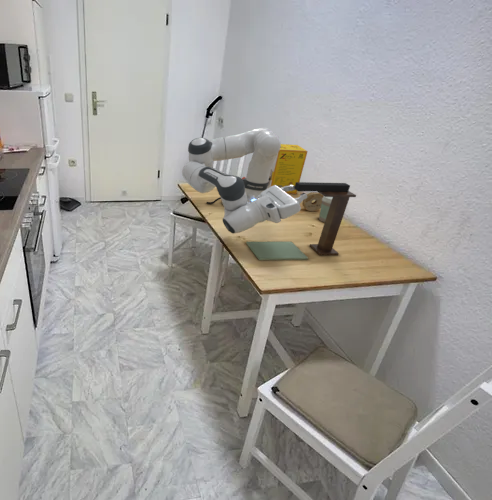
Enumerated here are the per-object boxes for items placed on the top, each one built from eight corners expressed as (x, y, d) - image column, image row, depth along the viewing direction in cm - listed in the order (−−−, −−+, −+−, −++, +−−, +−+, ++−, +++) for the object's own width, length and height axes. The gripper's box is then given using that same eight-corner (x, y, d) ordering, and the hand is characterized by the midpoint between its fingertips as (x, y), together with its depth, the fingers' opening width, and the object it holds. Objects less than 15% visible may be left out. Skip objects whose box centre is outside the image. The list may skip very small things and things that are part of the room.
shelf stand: (306, 256, 143) (325, 194, 131) (294, 245, 152) (311, 185, 140) (339, 256, 145) (361, 195, 133) (325, 245, 154) (345, 186, 142)
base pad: (259, 260, 139) (259, 258, 139) (246, 243, 151) (246, 241, 151) (307, 259, 142) (308, 257, 141) (290, 243, 154) (291, 241, 153)
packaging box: (261, 183, 227) (270, 143, 215) (287, 185, 227) (297, 144, 215) (268, 192, 213) (278, 149, 201) (296, 193, 212) (307, 151, 201)
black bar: (298, 191, 133) (299, 184, 132) (294, 188, 136) (295, 182, 135) (348, 191, 135) (350, 185, 134) (343, 189, 138) (345, 182, 137)
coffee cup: (336, 224, 174) (344, 201, 168) (318, 222, 175) (325, 199, 170) (332, 218, 181) (339, 195, 176) (314, 216, 183) (321, 193, 177)
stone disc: (319, 209, 191) (324, 191, 187) (321, 212, 188) (327, 194, 183) (299, 208, 191) (304, 190, 187) (302, 211, 188) (307, 192, 183)
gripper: (257, 204, 147) (289, 188, 145) (279, 225, 129) (315, 207, 127) (252, 191, 144) (284, 175, 142) (274, 211, 126) (311, 192, 125)
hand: (299, 190), depth 135 cm, fingers open, 8 cm apart
